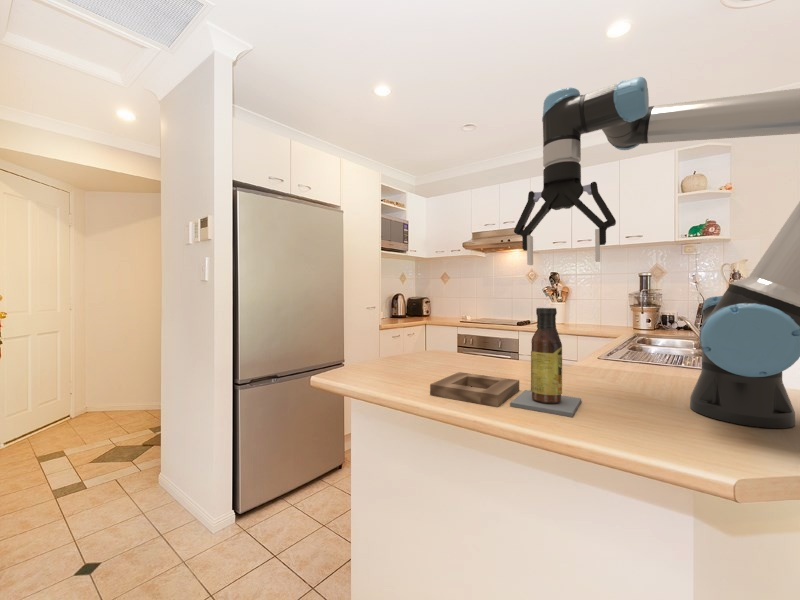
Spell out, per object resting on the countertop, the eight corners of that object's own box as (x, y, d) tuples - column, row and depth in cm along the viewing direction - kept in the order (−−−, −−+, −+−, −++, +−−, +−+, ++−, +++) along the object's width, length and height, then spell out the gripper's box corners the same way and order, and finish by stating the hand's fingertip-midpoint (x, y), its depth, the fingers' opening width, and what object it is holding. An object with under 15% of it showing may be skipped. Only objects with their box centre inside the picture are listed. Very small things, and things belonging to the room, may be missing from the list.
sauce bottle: (565, 405, 75) (567, 308, 75) (533, 404, 76) (535, 308, 76) (557, 396, 82) (558, 307, 82) (527, 395, 83) (529, 306, 82)
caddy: (519, 390, 90) (519, 380, 90) (497, 407, 77) (497, 395, 77) (458, 381, 99) (459, 372, 99) (430, 394, 86) (430, 384, 86)
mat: (581, 401, 81) (581, 398, 81) (572, 417, 71) (572, 413, 71) (525, 393, 87) (525, 390, 87) (510, 406, 77) (510, 402, 77)
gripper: (628, 159, 77) (629, 260, 78) (508, 180, 90) (509, 267, 90) (629, 147, 71) (630, 257, 71) (499, 171, 84) (500, 264, 84)
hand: (562, 263), depth 81 cm, fingers open, 13 cm apart
